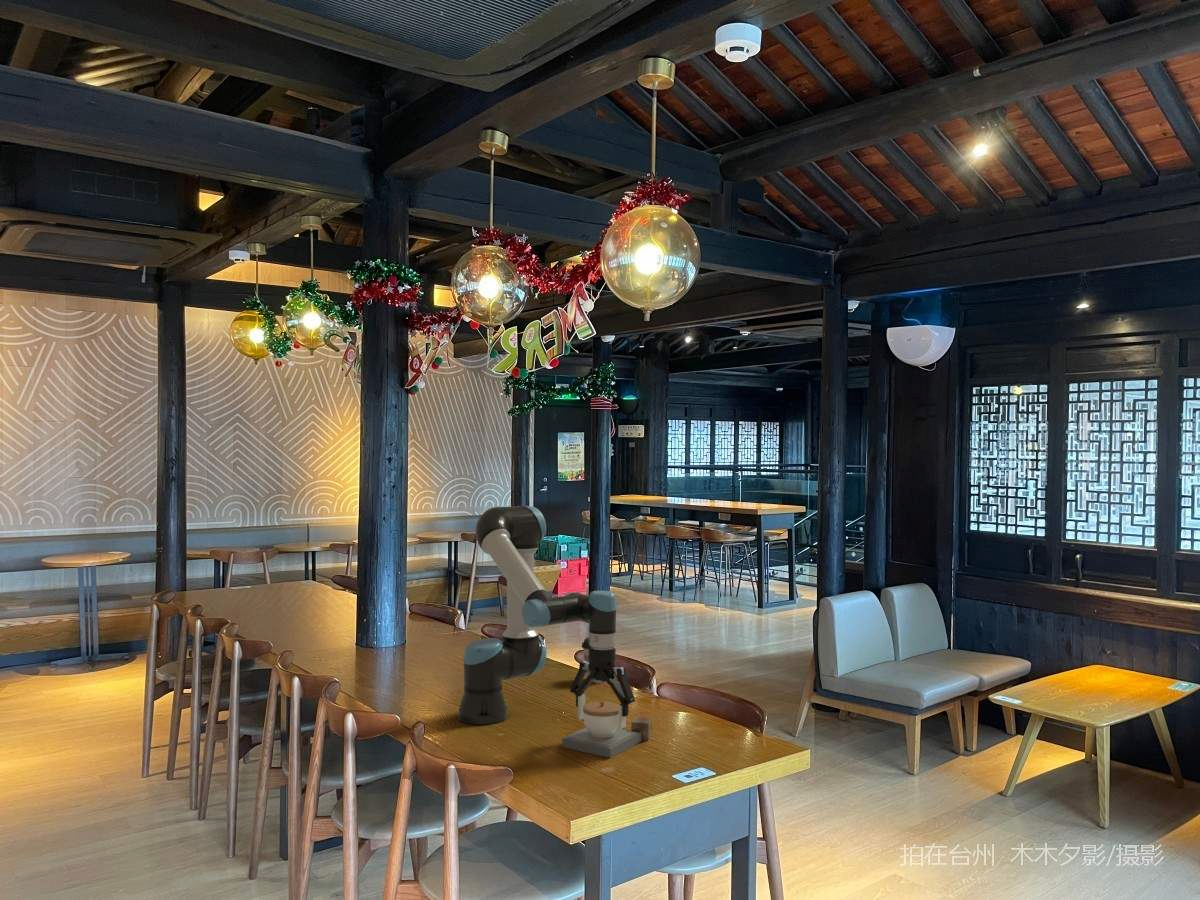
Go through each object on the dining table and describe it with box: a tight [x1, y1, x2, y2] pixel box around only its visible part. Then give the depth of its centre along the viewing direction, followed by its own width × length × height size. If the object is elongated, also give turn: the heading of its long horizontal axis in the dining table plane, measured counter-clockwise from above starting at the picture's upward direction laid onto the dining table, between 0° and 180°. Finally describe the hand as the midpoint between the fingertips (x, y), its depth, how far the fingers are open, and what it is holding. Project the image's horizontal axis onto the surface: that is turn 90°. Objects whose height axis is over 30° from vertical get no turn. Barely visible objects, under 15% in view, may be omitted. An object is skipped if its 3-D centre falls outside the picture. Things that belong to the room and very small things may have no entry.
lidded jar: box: [583, 700, 619, 738], centre depth 235 cm, size 11×11×9 cm
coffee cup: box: [581, 636, 603, 684], centre depth 303 cm, size 11×11×15 cm
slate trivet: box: [561, 726, 642, 759], centre depth 235 cm, size 16×16×3 cm
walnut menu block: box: [630, 716, 653, 742], centre depth 241 cm, size 5×5×5 cm
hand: (601, 723), depth 235 cm, fingers open, 13 cm apart
